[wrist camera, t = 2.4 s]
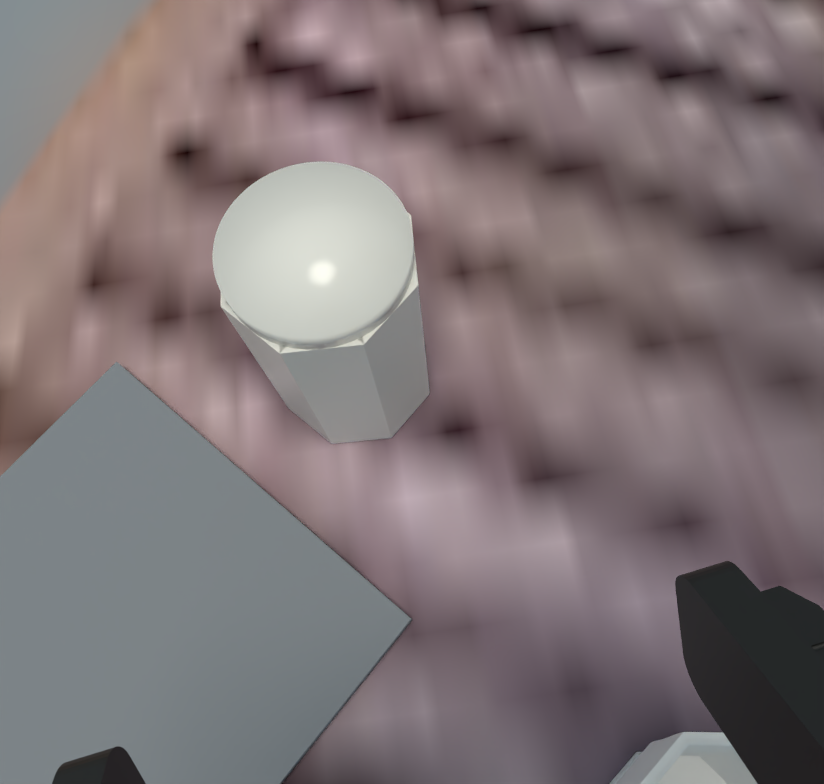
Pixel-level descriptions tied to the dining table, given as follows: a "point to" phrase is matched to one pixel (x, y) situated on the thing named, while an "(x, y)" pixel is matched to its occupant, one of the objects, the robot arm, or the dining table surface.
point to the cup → (686, 762)
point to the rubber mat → (167, 605)
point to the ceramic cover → (327, 296)
